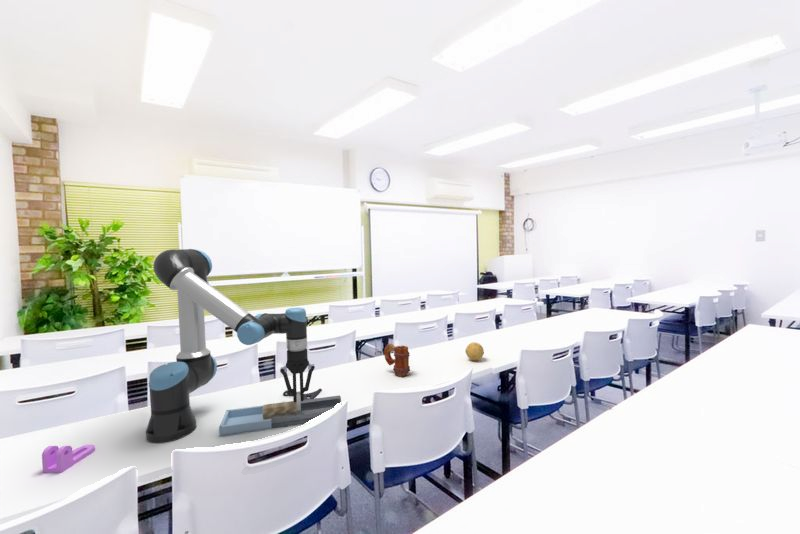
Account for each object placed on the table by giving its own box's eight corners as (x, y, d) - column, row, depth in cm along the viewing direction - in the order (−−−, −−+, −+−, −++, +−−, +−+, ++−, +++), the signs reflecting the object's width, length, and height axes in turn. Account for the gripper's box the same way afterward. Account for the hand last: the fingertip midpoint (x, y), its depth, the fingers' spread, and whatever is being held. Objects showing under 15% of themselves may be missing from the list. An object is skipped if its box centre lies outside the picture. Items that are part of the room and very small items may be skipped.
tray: (219, 436, 125) (219, 427, 125) (226, 418, 138) (226, 410, 138) (271, 428, 130) (271, 420, 129) (273, 412, 143) (273, 404, 143)
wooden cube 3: (285, 416, 136) (285, 406, 135) (286, 412, 139) (285, 401, 139) (297, 415, 137) (296, 404, 137) (297, 410, 141) (296, 400, 140)
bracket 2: (291, 390, 167) (291, 384, 166) (322, 391, 164) (321, 385, 164) (275, 403, 152) (275, 397, 152) (308, 405, 150) (308, 399, 150)
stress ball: (470, 358, 210) (459, 349, 206) (481, 345, 210) (470, 336, 206) (479, 366, 200) (467, 357, 197) (490, 353, 201) (479, 343, 197)
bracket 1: (61, 473, 106) (60, 450, 105) (43, 473, 106) (41, 450, 106) (99, 448, 119) (98, 428, 118) (82, 448, 119) (81, 428, 119)
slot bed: (271, 428, 130) (271, 419, 129) (273, 412, 143) (273, 403, 143) (344, 418, 137) (344, 409, 137) (340, 403, 150) (339, 394, 150)
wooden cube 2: (274, 418, 135) (274, 407, 134) (275, 413, 138) (274, 403, 138) (285, 416, 136) (285, 406, 135) (286, 412, 139) (285, 401, 139)
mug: (414, 373, 183) (413, 344, 183) (405, 378, 177) (405, 348, 176) (390, 369, 191) (389, 341, 191) (381, 373, 184) (380, 344, 184)
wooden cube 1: (263, 420, 134) (262, 409, 133) (264, 415, 137) (263, 405, 137) (274, 418, 135) (273, 407, 134) (275, 413, 138) (274, 403, 138)
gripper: (278, 353, 132) (280, 416, 133) (315, 349, 136) (316, 411, 137) (279, 347, 139) (281, 407, 141) (314, 344, 143) (315, 403, 144)
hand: (298, 409), depth 139 cm, fingers closed
